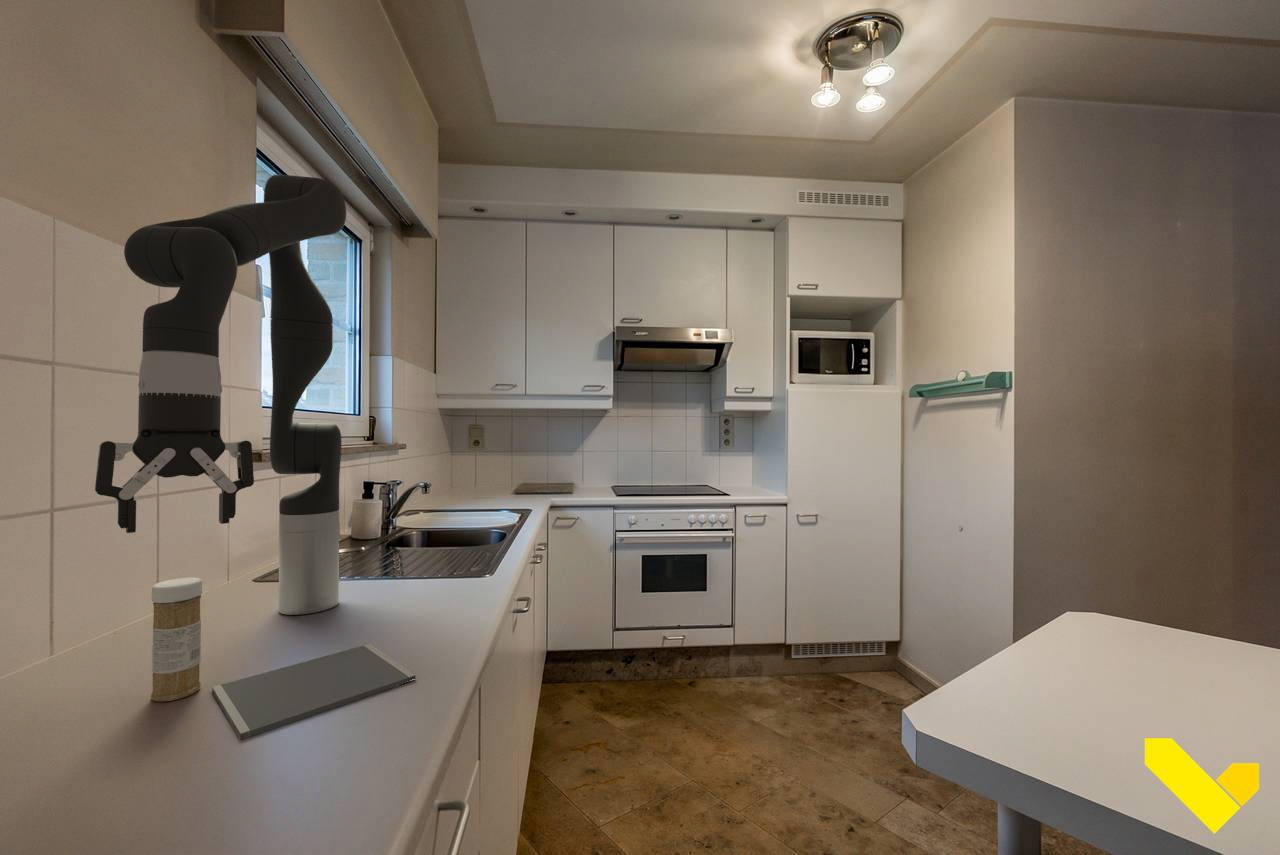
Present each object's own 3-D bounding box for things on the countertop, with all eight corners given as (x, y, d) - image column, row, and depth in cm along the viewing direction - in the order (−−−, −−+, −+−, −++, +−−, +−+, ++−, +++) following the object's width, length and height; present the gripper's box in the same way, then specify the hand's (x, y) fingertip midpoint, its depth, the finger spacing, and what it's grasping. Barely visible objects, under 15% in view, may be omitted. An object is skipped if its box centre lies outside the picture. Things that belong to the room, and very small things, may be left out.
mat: (212, 692, 64) (212, 686, 64) (368, 648, 77) (369, 643, 77) (240, 739, 54) (240, 733, 54) (415, 680, 67) (415, 674, 67)
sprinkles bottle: (174, 685, 66) (175, 576, 66) (210, 685, 66) (212, 576, 66) (139, 703, 61) (140, 586, 62) (178, 703, 61) (179, 586, 62)
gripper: (245, 397, 72) (244, 517, 72) (95, 391, 62) (93, 531, 61) (260, 394, 67) (258, 523, 67) (99, 386, 57) (96, 539, 56)
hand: (179, 527), depth 64 cm, fingers open, 8 cm apart
